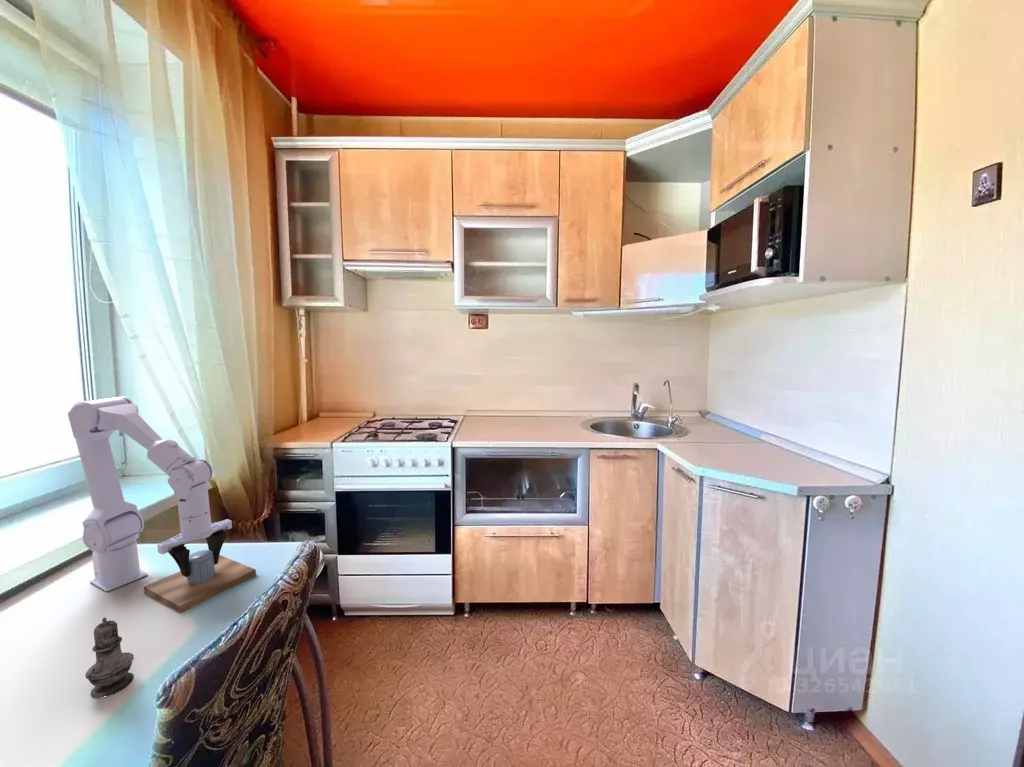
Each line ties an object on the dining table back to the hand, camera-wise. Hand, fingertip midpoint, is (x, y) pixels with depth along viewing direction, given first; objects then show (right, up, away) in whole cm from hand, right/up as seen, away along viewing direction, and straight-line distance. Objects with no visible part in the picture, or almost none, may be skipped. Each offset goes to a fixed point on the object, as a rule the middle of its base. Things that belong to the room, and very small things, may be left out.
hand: (200, 569), depth 100 cm
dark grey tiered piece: (+7, -7, -29) cm, 31 cm away
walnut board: (0, -4, 0) cm, 4 cm away
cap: (0, -2, 0) cm, 2 cm away
